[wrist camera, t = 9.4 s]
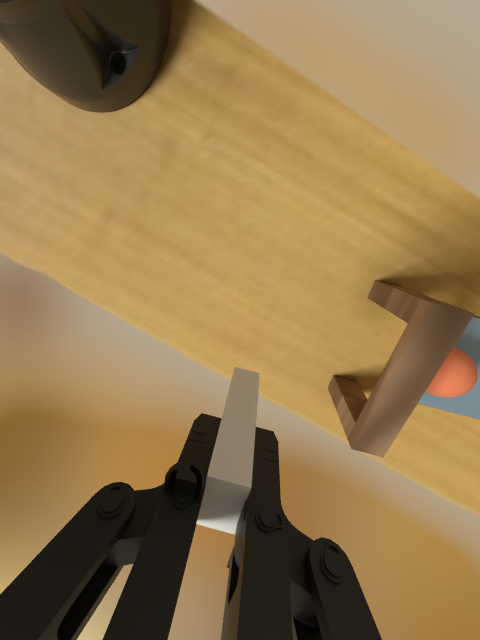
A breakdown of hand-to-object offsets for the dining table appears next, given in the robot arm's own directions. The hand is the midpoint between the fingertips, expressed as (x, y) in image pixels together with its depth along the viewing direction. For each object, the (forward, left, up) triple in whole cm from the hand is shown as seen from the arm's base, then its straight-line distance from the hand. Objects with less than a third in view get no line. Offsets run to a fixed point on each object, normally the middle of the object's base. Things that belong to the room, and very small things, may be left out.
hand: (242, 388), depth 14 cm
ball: (0, +21, -12) cm, 24 cm away
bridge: (0, +13, -15) cm, 20 cm away
